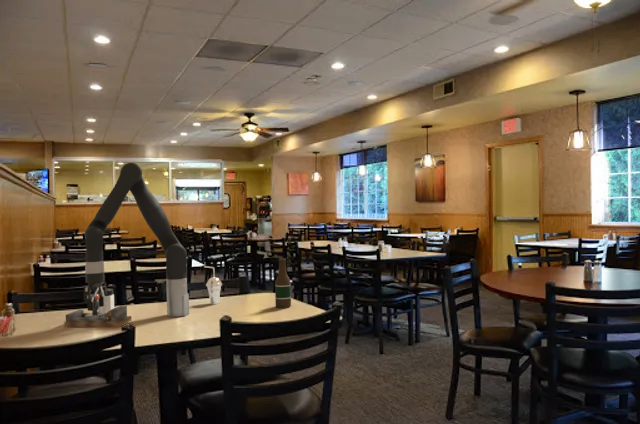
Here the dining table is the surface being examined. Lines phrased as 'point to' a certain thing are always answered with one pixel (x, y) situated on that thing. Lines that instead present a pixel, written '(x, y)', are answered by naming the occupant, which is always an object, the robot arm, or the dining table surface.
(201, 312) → the dining table surface
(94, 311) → the red ball joystick
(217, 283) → the cup with straw
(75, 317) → the bench
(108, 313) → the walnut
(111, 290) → the jar
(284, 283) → the beer bottle
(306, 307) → the dining table surface
